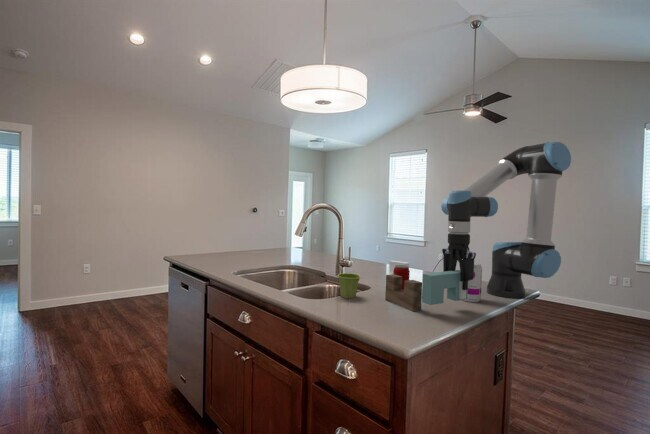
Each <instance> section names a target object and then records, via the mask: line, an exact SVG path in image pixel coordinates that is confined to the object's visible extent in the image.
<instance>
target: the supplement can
mask: <svg viewBox="0 0 650 434" xmlns="http://www.w3.org/2000/svg"><path fill="white" fill-rule="evenodd" d="M482 277H483V267H482V265H481V263H480V262H479V263H478V262H474V274H473V280H469V281H468V296H467V299H465V300H462V301H464V302H469V303H478V302H480V301H482V282H483V281H482V279H483V278H482Z"/></svg>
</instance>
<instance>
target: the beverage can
mask: <svg viewBox="0 0 650 434" xmlns="http://www.w3.org/2000/svg"><path fill="white" fill-rule="evenodd" d="M393 274H395V275H398V276H402V290H404V281H405V280H410V274H411V273H410V267H409V268H408V266H404V265H396V266H395V268H394V270H393Z"/></svg>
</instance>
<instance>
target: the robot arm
mask: <svg viewBox="0 0 650 434" xmlns="http://www.w3.org/2000/svg"><path fill="white" fill-rule="evenodd" d="M571 163H572V156H571V152H570V150H569V148H568V146H567V145H566V144H565V143H563V142H561V141H551V142H550V141H547V142H545V143H544V142H543V143H538V144H533V145H532V144H531V145H526V146H523V147H519V148H517V149H516V150H514V151H512V152H509V154H507V155H506V156H504V157H503V158H501V159H500V160H498V162H497V163H496V165H495V166H494V167H493V168H491V169H490V170H489V171H487V172H486V173H484V174H483V175H482V176H481V177H479V178H478V179H476V180H475V181H474V182H472V183H471V184H469V185H468V186H466V187H465V188H464V189H463V190H451V191H449V194H448V197H445V198H444V199H443V200H442V202H441V205H440V207H441V211H442V212H443V213H444V215H447V216H448V218H447V219H448V221H447V225H448V226H447V231H448V232H449V233H448V234H447V243H448V246H447V248H442V249H441V251H442V254H443V255H442V258H443V259H442V260H443V262H442V263H443V265H442V266H443V268H442V269H443V271H442V272H445V271H454V270H457V263H459V270H460V273H461V280H460V281H459V299H465V298H466V290H467V289H468V281H469V280H473V274H474V263H475V259H476V256H477V253H476V252H472V251H471V250H470V247H469V245H470V243H471V235H470V233H471V220H472V219H471V218H472V217H473V218H475V217H476V218H477V217H478V218H479V217H480V218H482V217H484V218H488V217H489V218H490V217H494V216H495V215H496V213H497V212H498V211H499V203H498V201H497V200H496V199H495V197H490V196H488V195H490V193H492V192H493V191H495V190H496V189H497V188H499V187H501V186H502V185H503V184H504V183H505V182H506V181H507V182H508V180H513V179H515V178H516V177H517V176H520V175H527V176H528V178H529V179H530V180H531V187H530V196H529V197H530V199H529V206H528V216H527V217H528V219H527V227H526V237H525V238H524V239H523V240H522V241H509V242H508V241H507V242H505V241H504V242H502V241H500V242H494V244H493V245H492V251H491V252H492V253H491V254H492V255H491V276H490V278H489V280H488V284H487V286H486V292H487V294H491V295H493V296H497V297H502V298H510V299H511V298H512V299H522V298H525V297H526V290H525V287H524V282H523V280H522V279H523V278H522V275H526V276H532V277H535V278H542V279H549V278H551V277H553V276H554V275H555V274H556V273H557V272H558V271H559V269H560V267H561V263H562V257H561V254H560V252H559V250H556V249H555V248H556V244H555V243H554V242H553V240H552V233H553V224H554V222H553V221H554V214H555V213H554V212H555V205H556V204H555V203H556V193H557V182H558V181H559V179H561V178H562V177H563V172H564V171H566V170H567V169H568V170H569V167H570V166H571Z"/></svg>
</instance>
